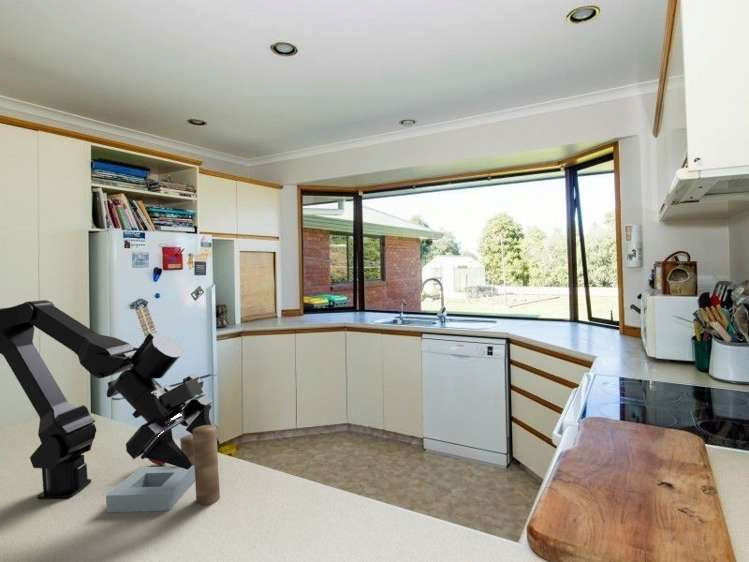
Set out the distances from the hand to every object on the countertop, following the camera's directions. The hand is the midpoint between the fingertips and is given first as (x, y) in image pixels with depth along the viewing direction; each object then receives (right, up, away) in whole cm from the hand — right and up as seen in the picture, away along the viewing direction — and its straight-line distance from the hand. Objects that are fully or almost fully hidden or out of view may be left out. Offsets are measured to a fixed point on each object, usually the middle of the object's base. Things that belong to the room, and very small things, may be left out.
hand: (204, 456), depth 82 cm
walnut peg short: (-7, -8, +12) cm, 16 cm away
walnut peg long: (+1, -8, 0) cm, 8 cm away
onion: (-15, -8, +15) cm, 23 cm away
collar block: (-10, -8, +2) cm, 14 cm away
